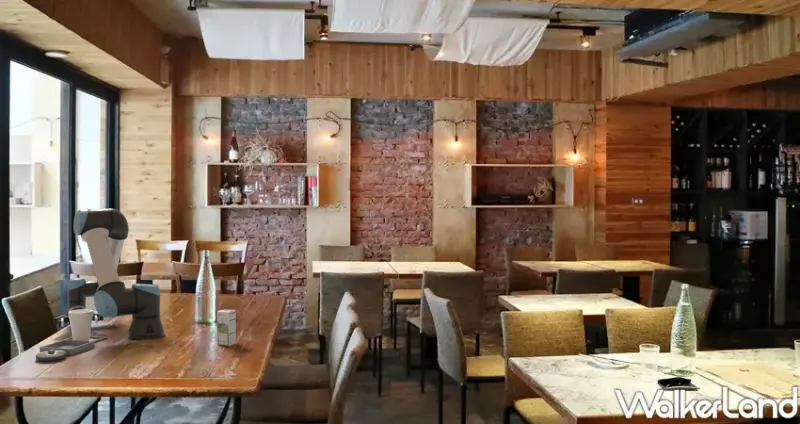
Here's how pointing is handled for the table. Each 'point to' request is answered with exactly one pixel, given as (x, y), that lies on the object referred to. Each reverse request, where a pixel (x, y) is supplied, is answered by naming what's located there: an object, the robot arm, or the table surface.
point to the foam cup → (81, 324)
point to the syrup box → (226, 327)
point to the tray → (69, 346)
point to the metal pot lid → (51, 356)
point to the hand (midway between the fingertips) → (79, 322)
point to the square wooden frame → (100, 338)
